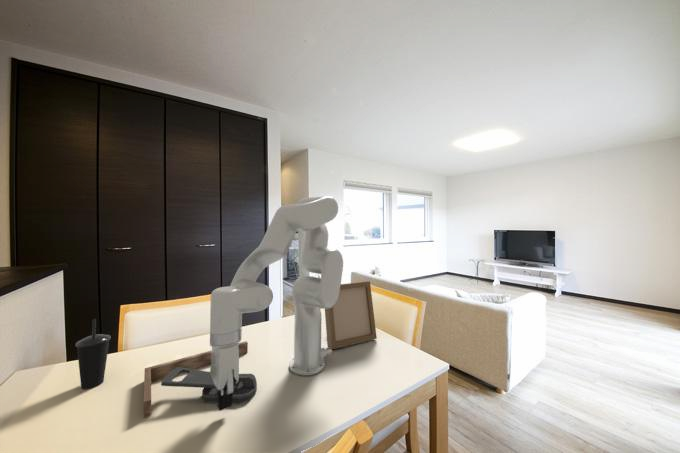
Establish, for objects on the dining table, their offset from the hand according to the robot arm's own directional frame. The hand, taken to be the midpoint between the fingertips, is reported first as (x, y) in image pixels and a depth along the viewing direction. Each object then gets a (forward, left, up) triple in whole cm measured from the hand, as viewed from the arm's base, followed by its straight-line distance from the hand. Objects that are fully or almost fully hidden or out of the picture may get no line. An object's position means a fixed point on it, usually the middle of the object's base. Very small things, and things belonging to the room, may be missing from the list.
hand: (224, 406), depth 63 cm
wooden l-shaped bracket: (0, -21, -2) cm, 21 cm away
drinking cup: (+29, -38, -3) cm, 48 cm away
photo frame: (-54, -15, -3) cm, 56 cm away
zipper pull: (+1, -11, -3) cm, 11 cm away
